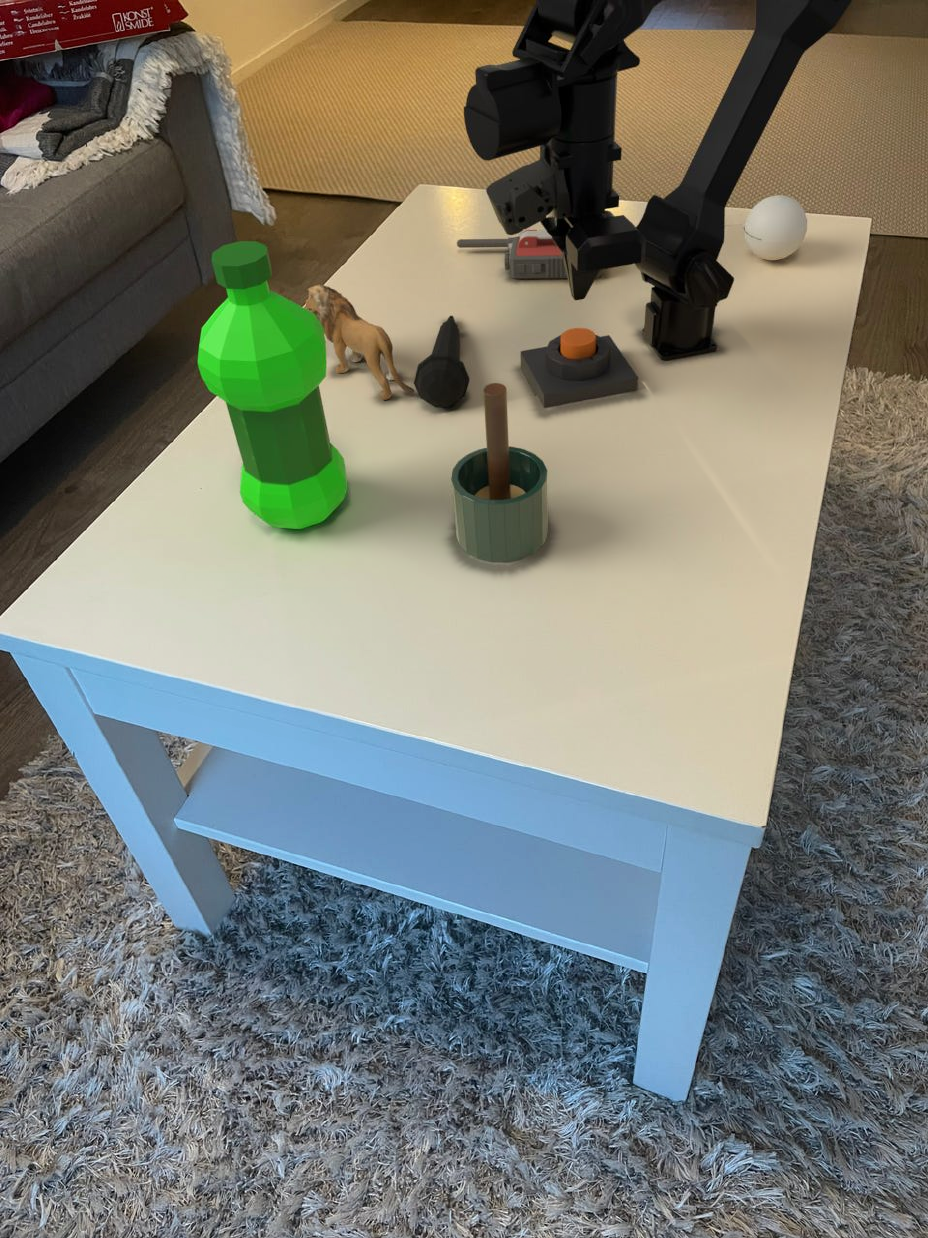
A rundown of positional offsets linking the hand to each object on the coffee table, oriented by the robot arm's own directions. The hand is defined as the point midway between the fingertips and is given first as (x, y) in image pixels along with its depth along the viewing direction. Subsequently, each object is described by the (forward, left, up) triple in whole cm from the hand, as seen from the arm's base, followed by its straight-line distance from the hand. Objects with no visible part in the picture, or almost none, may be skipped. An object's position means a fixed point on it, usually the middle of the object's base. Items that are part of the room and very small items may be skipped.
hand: (578, 298), depth 95 cm
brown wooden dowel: (+14, +22, -9) cm, 28 cm away
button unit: (0, 0, -10) cm, 10 cm away
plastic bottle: (+31, +13, -10) cm, 35 cm away
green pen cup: (+14, +22, -10) cm, 28 cm away
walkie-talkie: (-3, -28, -10) cm, 30 cm away
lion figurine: (+22, -9, -10) cm, 26 cm away
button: (0, 0, -6) cm, 6 cm away
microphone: (+12, -7, -10) cm, 17 cm away
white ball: (-30, -20, -10) cm, 37 cm away
